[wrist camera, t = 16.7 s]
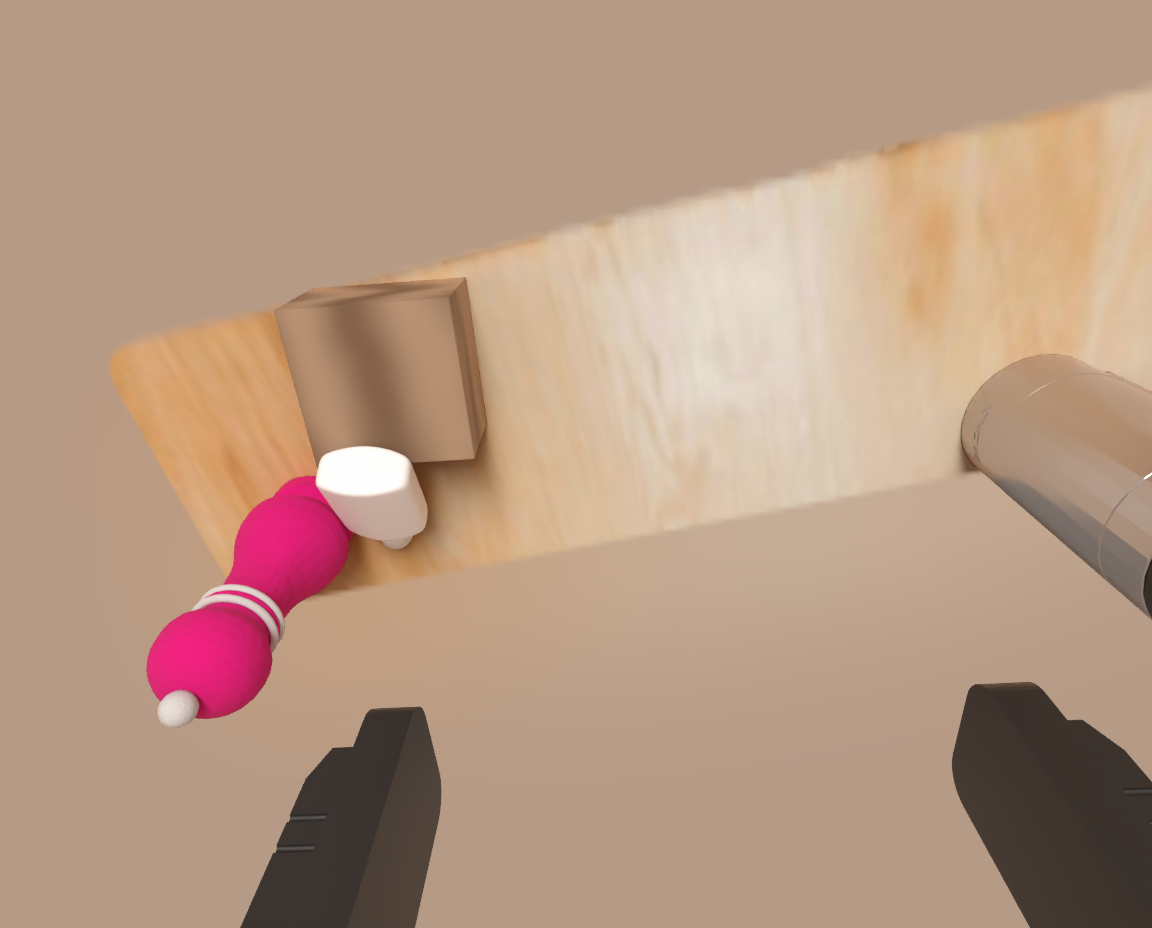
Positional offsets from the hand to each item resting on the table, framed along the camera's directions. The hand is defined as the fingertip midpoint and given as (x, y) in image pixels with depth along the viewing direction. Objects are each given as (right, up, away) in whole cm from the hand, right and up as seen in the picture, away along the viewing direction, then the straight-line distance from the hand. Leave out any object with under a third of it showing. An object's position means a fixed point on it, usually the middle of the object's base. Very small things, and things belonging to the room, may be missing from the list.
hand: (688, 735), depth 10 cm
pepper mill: (-21, +1, +41) cm, 46 cm away
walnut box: (-13, +11, +35) cm, 39 cm away
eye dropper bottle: (-15, +4, +30) cm, 34 cm away
